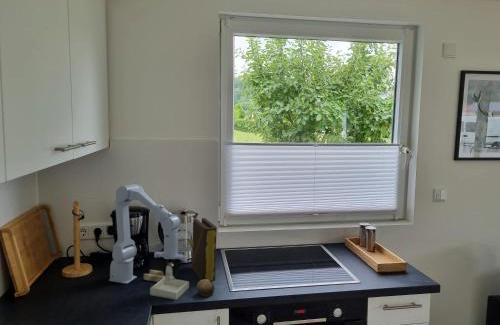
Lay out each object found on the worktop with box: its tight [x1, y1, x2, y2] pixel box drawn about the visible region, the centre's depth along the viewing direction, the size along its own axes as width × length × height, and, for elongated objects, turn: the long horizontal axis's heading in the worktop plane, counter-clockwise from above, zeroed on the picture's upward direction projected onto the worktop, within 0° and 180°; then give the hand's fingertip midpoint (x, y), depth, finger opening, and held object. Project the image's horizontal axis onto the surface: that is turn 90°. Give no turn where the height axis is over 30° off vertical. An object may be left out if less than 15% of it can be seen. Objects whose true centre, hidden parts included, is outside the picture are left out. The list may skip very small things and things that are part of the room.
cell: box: [165, 262, 176, 281], centre depth 160 cm, size 4×4×7 cm
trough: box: [143, 269, 165, 283], centre depth 173 cm, size 12×6×2 cm, turn 74°
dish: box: [149, 278, 190, 301], centre depth 161 cm, size 12×12×3 cm
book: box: [189, 217, 218, 283], centre depth 181 cm, size 22×8×25 cm, turn 25°
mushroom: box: [196, 279, 215, 297], centre depth 160 cm, size 8×8×6 cm
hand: (170, 275), depth 160 cm, fingers closed on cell, 4 cm apart
